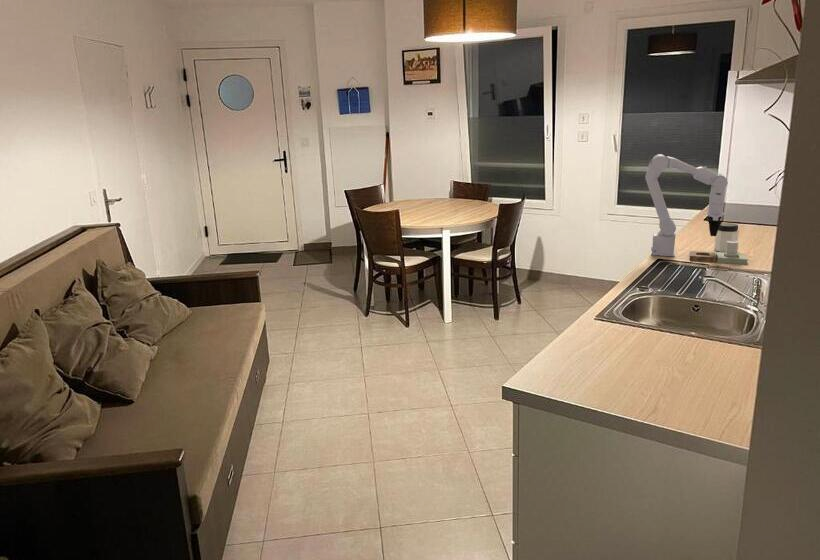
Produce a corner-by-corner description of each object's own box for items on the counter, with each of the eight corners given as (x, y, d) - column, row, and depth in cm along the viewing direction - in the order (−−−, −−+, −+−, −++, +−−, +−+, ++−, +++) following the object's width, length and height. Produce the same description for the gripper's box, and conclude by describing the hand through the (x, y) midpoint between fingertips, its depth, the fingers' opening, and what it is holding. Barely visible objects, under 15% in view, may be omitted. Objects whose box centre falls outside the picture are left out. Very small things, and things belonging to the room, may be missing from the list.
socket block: (689, 260, 261) (690, 255, 260) (689, 255, 270) (689, 250, 269) (715, 262, 257) (716, 257, 257) (714, 256, 266) (715, 252, 265)
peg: (725, 261, 258) (727, 242, 256) (724, 258, 262) (726, 240, 260) (736, 261, 257) (738, 243, 255) (735, 259, 260) (737, 241, 258)
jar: (739, 252, 272) (742, 226, 269) (721, 253, 272) (724, 226, 269) (728, 248, 281) (731, 222, 278) (711, 248, 281) (714, 223, 278)
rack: (717, 262, 256) (717, 257, 256) (715, 256, 266) (716, 252, 266) (746, 264, 252) (747, 259, 252) (744, 258, 262) (744, 253, 262)
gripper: (727, 205, 253) (724, 238, 256) (725, 201, 266) (722, 231, 269) (709, 205, 255) (705, 237, 259) (707, 200, 268) (704, 230, 272)
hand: (712, 234), depth 264 cm, fingers open, 7 cm apart
